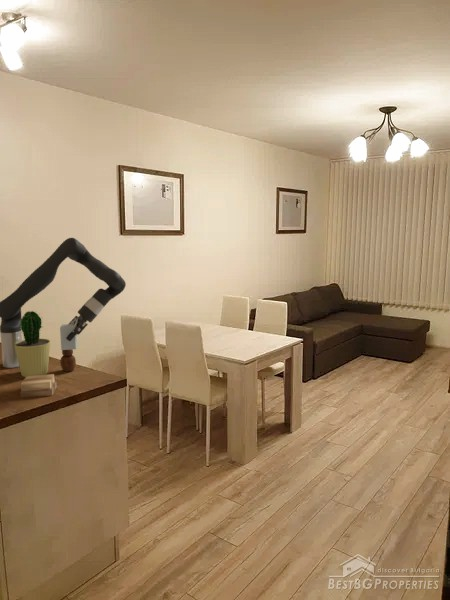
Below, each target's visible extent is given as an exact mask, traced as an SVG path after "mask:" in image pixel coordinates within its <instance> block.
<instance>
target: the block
mask: <svg viewBox="0 0 450 600" xmlns="http://www.w3.org/2000/svg"><path fill="white" fill-rule="evenodd" d="M73 326H74V323H73V324H69V323H67V324H66V323H65V324H61V325H60V326H59V330H60V331H59V332H60V347H61V348H60V350H61V351H62V350H76V349H77V347H78V334H77V335H75V336H74V338H73V339H72V340H71V341H68V340H67V339H66V337H67V336H68V335H69V334H70V333H71V332H72V330H73V329H74V328H75V327H73Z"/></svg>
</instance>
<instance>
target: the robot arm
mask: <svg viewBox="0 0 450 600" xmlns="http://www.w3.org/2000/svg"><path fill="white" fill-rule="evenodd" d="M66 259H70V260H72V261H74V262H76V263H78V264H79V265H82V266H84V267H85V268H86V269H87V270H88V271H89V272H90V273H91V274H92V275H93V276H95V277H96V278H97V279H99V280H100V281H103V282H104V283H105V284H106V285H107V286H108V287H107V288H105V289H104V288H98V290H97V291H95V293H94V294H93V295H92V296H91V297H90V298H89V299H88V300H86V302H85V303H84V304H83V305H82V306H81V307H80V308H79V309H78V311H77V314H79V316H78V315H75V316H74V317H73V319H72V320H70V322H69V323H68V324H74V326H73V327H75V328H74V329H73V330H72V332H71V333H70V334H69V335H68V336H67V337H66V339H67V340H68V341H71V340H72V339H73V338H74V336H75V335H77V336H79V335H81V333H82V332H83V331H84V330H85V328H86V327H87V326H88V323H92V322H93V321H94V320H95V318H97V317H98V315H99V314H100V313H101V312H102V310H103V309H104V308H105V307H106V305H107V304H108V303H109V302H110V301H111V300H112V299H114V298H115V297H117V296H119V295H120V294H121V293H122V292H123V291H124V290H125V288H126V285H127V284H126V281H125V279H124V278H123V277H122V276H121V274H120V273H118V272H117V271H116V270H114V269H113V268H111V267H109V266H108V265H106V264H105V263H104V262H102V261H101V260H99V259H97V258H96V257H95V256H93V255H92V254H91V253H90V251H89V249H87V248H86V247H85V245H84V244H83V243H81V241H79V240H78V239H77V238H75V237H69V238H66V239H65V240H63V242H62V243H61V244H59V246H58V247H57V248H56V249H55V251H53V253H52V254H51V255H50V256H49V257H48V258H47V259H46V260H45V261H44V262H43V263H41V265H39V266H38V267H37V268H36V269H35V270H34V271H33V272H31V274H29V275H28V276H27V278H25V279H24V281H23V282H22V283H20V285H19V286H18V287H17V288H16V289H15V290H14V291H13V292H11V294H9V295H7V296H6V298H4V299H2V300H1V301H0V319H1V320H0V321H1V322H0V343H1V355H2V357H1V358H2V367H3V368H7V369H11V368H12V369H13V368H20V366H19V362H18V358H17V354H16V350H15V345H14V344H15V343H16V342H19V341H22V340H23V337H22V336H23V335H22V333H21V332H22V330H21V329H20V328H21V321H22V307H24V306H25V304H26V303H28V302H29V301H30V300H31V299H33V298H34V297H35V296H37V295H38V294H39V293H41V292H42V291H44V290H45V289H46V288H47V287H48V286H49V285H50V284H51V283H53V281H54V279H55V277H56V275H57V272H58V269H59V267H60V265H61V264H62V263H63V262H64V261H65V260H66ZM87 322H88V323H87ZM19 323H20V324H19Z"/></svg>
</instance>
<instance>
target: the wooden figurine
mask: <svg viewBox="0 0 450 600" xmlns="http://www.w3.org/2000/svg"><path fill="white" fill-rule="evenodd" d="M61 354H62V356H61V357H60V359H59V360H60V361H59V362H60V367H61V370H62V371H63V372H69V373H70V372H73V371H74V370H75V368H76V366H77V365H76V364H77V363H76V361H77V360H76V357H75V356H74V355H73V354H74V349H72V350H61Z"/></svg>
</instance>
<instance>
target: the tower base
mask: <svg viewBox="0 0 450 600" xmlns="http://www.w3.org/2000/svg"><path fill="white" fill-rule="evenodd" d="M57 387H58V380H57V379H55V381H54V383H53V385H52V387H51V389H48V390H34V391H21V390H20V395H19V396H20V398H34V397H38V398H39V397H48V396H49V397H50V396H53V395H54V393H55V391H56V388H57Z"/></svg>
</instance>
